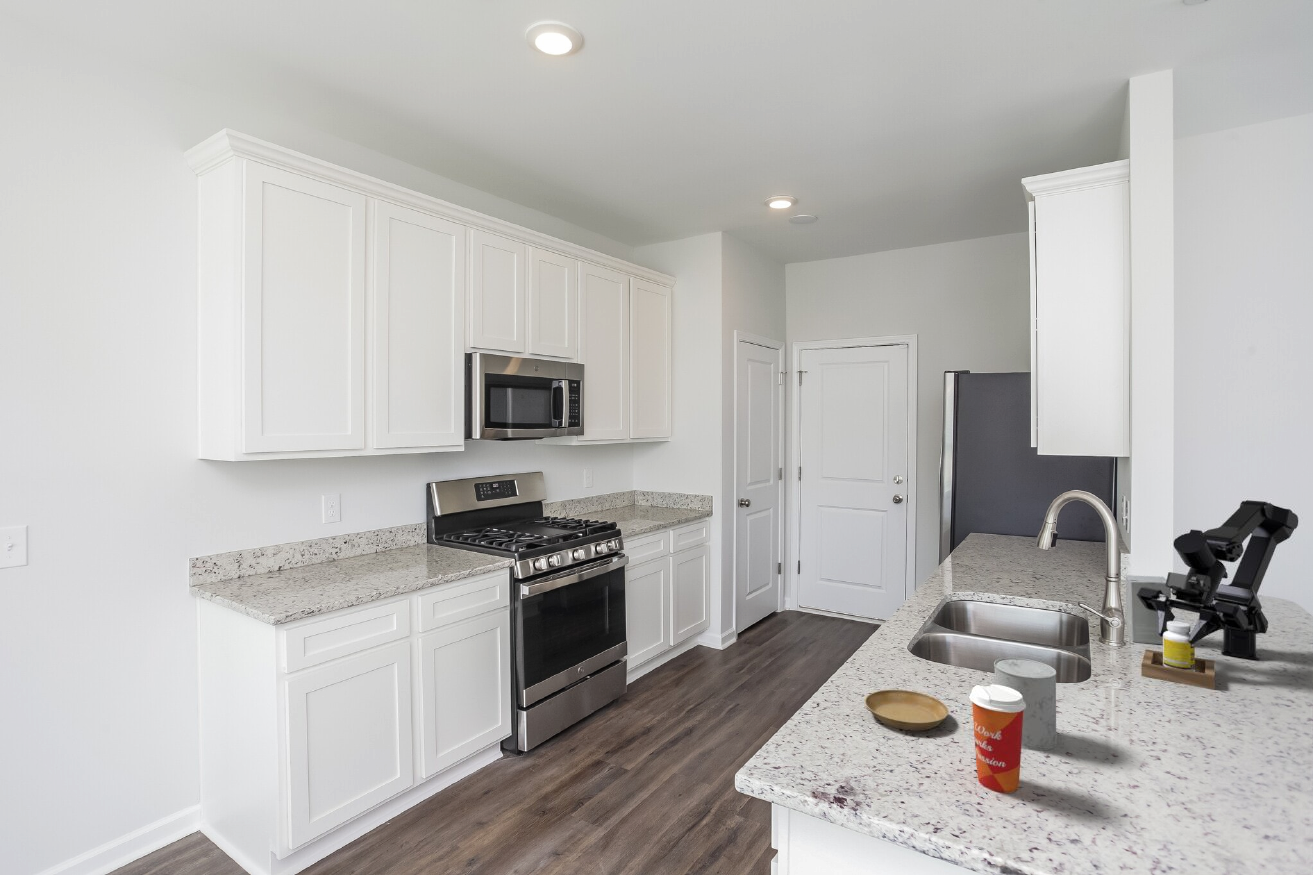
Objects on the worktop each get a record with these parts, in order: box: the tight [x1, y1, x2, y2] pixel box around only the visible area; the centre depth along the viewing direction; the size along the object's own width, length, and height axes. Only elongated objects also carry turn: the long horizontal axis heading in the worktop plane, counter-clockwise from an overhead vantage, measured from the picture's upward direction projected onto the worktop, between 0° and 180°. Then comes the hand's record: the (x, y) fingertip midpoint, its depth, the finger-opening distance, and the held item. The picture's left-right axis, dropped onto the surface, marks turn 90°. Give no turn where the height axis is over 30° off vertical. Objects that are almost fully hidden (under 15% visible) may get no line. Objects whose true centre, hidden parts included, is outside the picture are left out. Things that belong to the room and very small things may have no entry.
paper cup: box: [969, 683, 1026, 794], centre depth 101 cm, size 8×8×14 cm
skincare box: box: [1125, 574, 1172, 645], centre depth 163 cm, size 8×7×16 cm
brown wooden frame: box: [1140, 648, 1216, 691], centre depth 142 cm, size 12×12×2 cm
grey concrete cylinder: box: [993, 657, 1058, 751], centre depth 115 cm, size 10×10×12 cm
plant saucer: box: [864, 689, 950, 732], centre depth 124 cm, size 15×15×3 cm
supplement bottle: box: [1162, 620, 1196, 672], centre depth 142 cm, size 5×5×10 cm
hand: (1174, 639), depth 141 cm, fingers closed on supplement bottle, 5 cm apart
